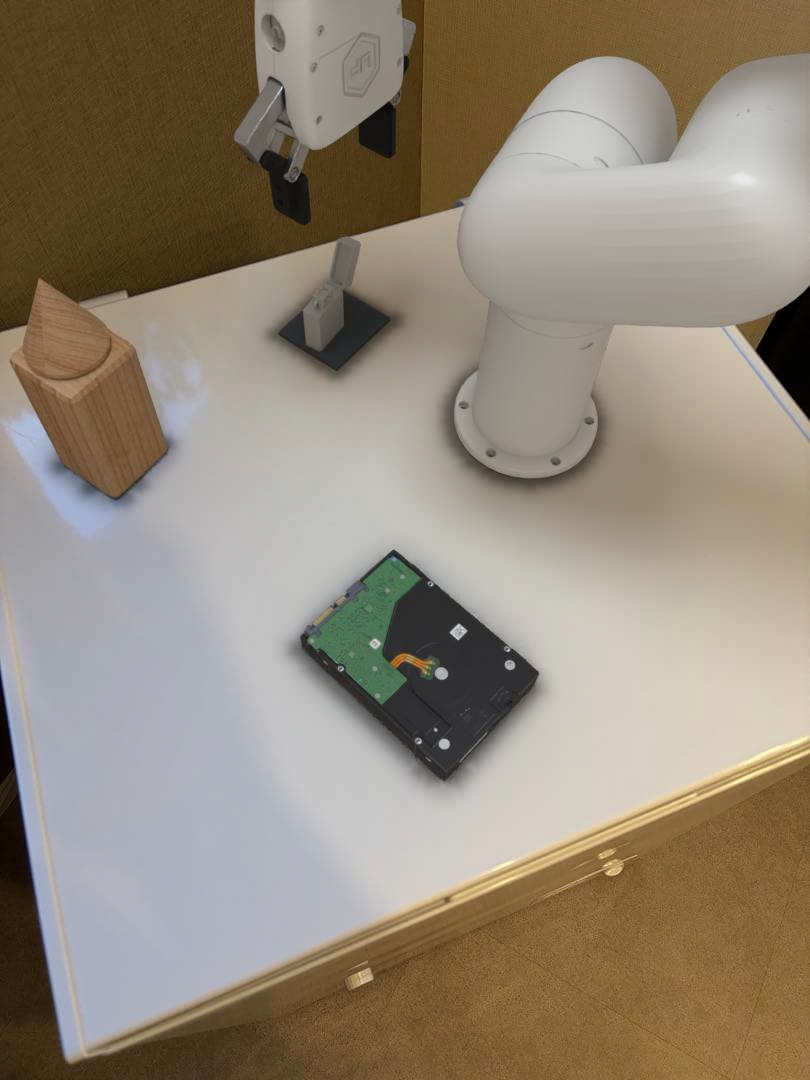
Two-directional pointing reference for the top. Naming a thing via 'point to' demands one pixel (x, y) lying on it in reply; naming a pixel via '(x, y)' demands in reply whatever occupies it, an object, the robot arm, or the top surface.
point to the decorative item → (88, 393)
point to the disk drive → (419, 662)
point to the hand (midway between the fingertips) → (336, 182)
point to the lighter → (331, 296)
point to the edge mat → (340, 332)
